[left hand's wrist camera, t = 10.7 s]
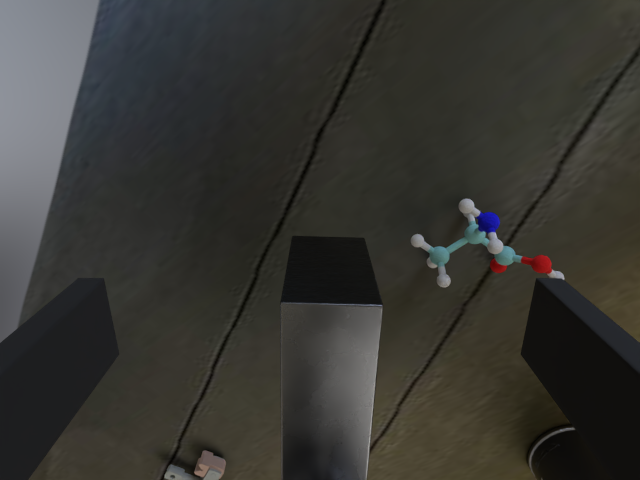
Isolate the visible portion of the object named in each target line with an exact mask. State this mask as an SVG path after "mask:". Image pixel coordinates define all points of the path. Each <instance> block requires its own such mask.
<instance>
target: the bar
mask: <svg viewBox="0 0 640 480" xmlns="http://www.w3.org/2000/svg"><path fill="white" fill-rule="evenodd" d="M382 315H383V303H382V300H381V296H380V293H379V289H378V285H377V282H376V278H375V275H374V271H373V268H372V264H371V260H370V257H369V253H368V250H367V246H366V242H365V239H364V238H349V237H312V236H292V240H291V246H290V252H289V257H288V263H287V269H286V274H285V280H284V285H283V291H282V297H281V302H280V349H281V480H367V475H368V464H369V453H370V443H371V432H372V421H373V411H374V400H375V389H376V379H377V368H378V357H379V347H380V336H381V326H382Z"/></svg>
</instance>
